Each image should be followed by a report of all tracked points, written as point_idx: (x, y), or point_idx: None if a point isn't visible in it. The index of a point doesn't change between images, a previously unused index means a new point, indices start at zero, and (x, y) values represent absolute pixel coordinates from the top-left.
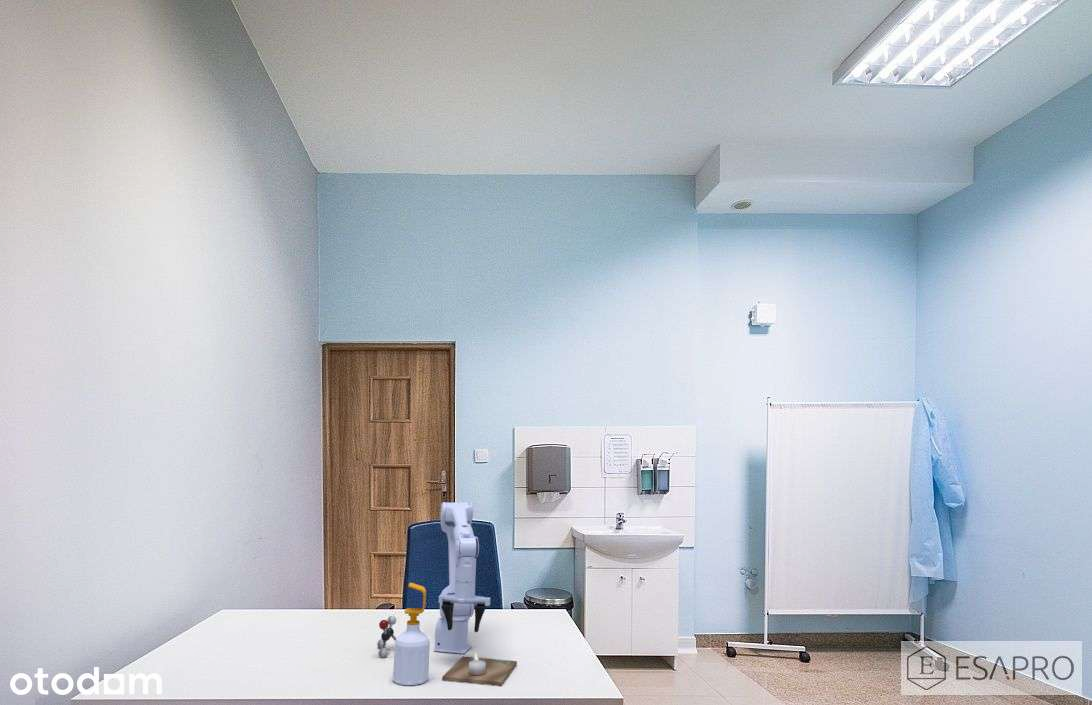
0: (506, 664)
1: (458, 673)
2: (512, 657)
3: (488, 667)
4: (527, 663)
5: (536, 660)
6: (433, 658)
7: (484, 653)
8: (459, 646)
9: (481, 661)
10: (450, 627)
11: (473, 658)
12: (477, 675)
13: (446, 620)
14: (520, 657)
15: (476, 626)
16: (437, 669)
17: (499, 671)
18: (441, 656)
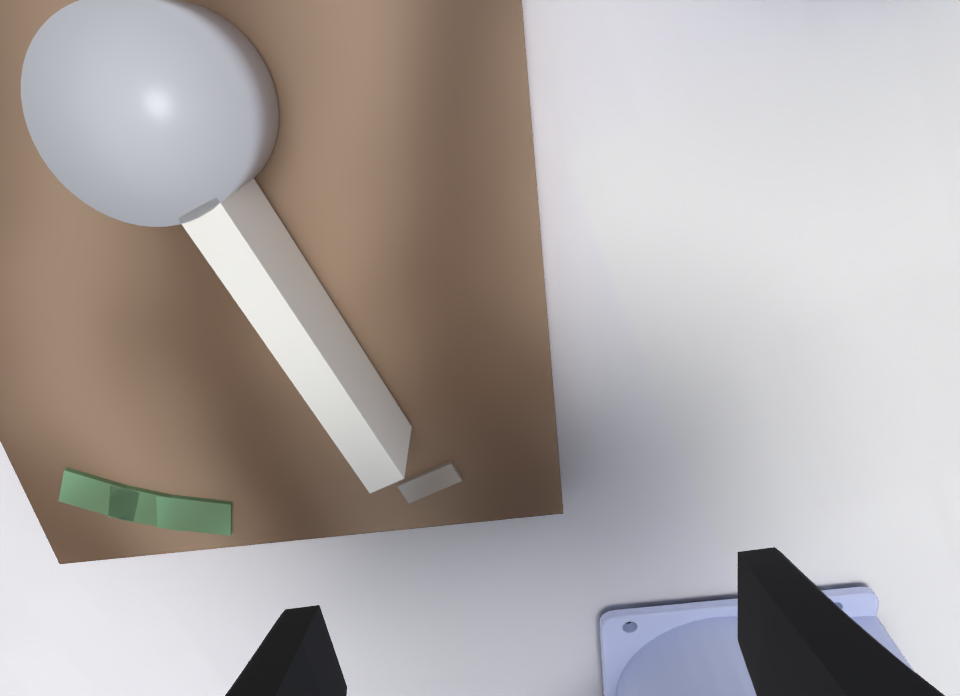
0: (84, 461)
1: (371, 6)
2: (210, 670)
3: (181, 323)
4: (24, 598)
5: (9, 673)
6: (824, 443)
7: (454, 675)
8: (662, 667)
9: (121, 190)
10: (754, 593)
11: (355, 374)
12: None
13: (901, 661)
14: (156, 688)
15: (251, 678)
16: (691, 172)
17: (12, 254)
18: (768, 510)
